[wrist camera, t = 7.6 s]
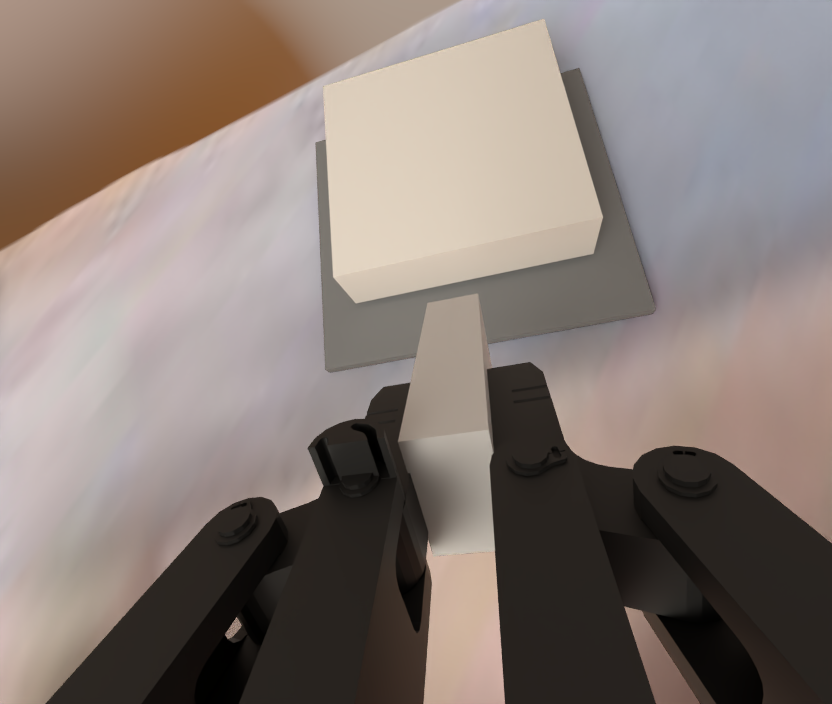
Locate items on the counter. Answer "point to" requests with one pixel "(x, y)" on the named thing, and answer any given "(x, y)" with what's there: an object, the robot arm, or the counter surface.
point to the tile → (456, 168)
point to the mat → (497, 277)
